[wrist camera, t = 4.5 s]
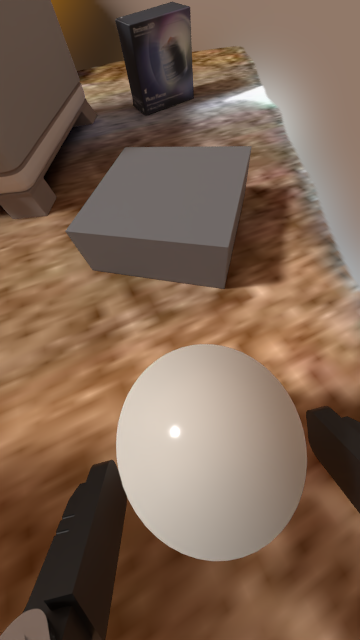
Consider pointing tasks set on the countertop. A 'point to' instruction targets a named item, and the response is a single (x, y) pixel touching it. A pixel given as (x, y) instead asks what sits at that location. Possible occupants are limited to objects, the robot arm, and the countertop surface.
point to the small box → (158, 56)
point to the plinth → (165, 214)
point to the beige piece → (211, 452)
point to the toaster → (34, 104)
